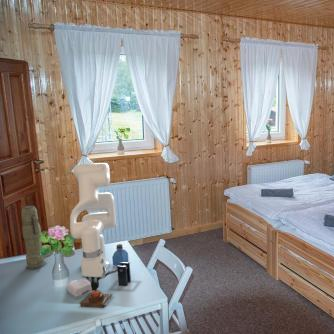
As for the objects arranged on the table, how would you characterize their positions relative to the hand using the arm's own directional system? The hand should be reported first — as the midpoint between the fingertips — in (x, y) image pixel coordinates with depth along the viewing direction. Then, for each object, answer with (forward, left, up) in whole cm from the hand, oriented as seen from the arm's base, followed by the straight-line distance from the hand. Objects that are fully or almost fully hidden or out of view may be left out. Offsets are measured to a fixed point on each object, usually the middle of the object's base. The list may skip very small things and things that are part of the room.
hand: (95, 288), depth 181 cm
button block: (0, 0, -7) cm, 7 cm away
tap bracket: (+7, +16, -7) cm, 18 cm away
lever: (+3, +16, 0) cm, 16 cm away
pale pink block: (-14, +9, -7) cm, 18 cm away
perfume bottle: (-5, +38, -7) cm, 39 cm away
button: (0, 0, -3) cm, 3 cm away
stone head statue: (-53, +33, -7) cm, 62 cm away
